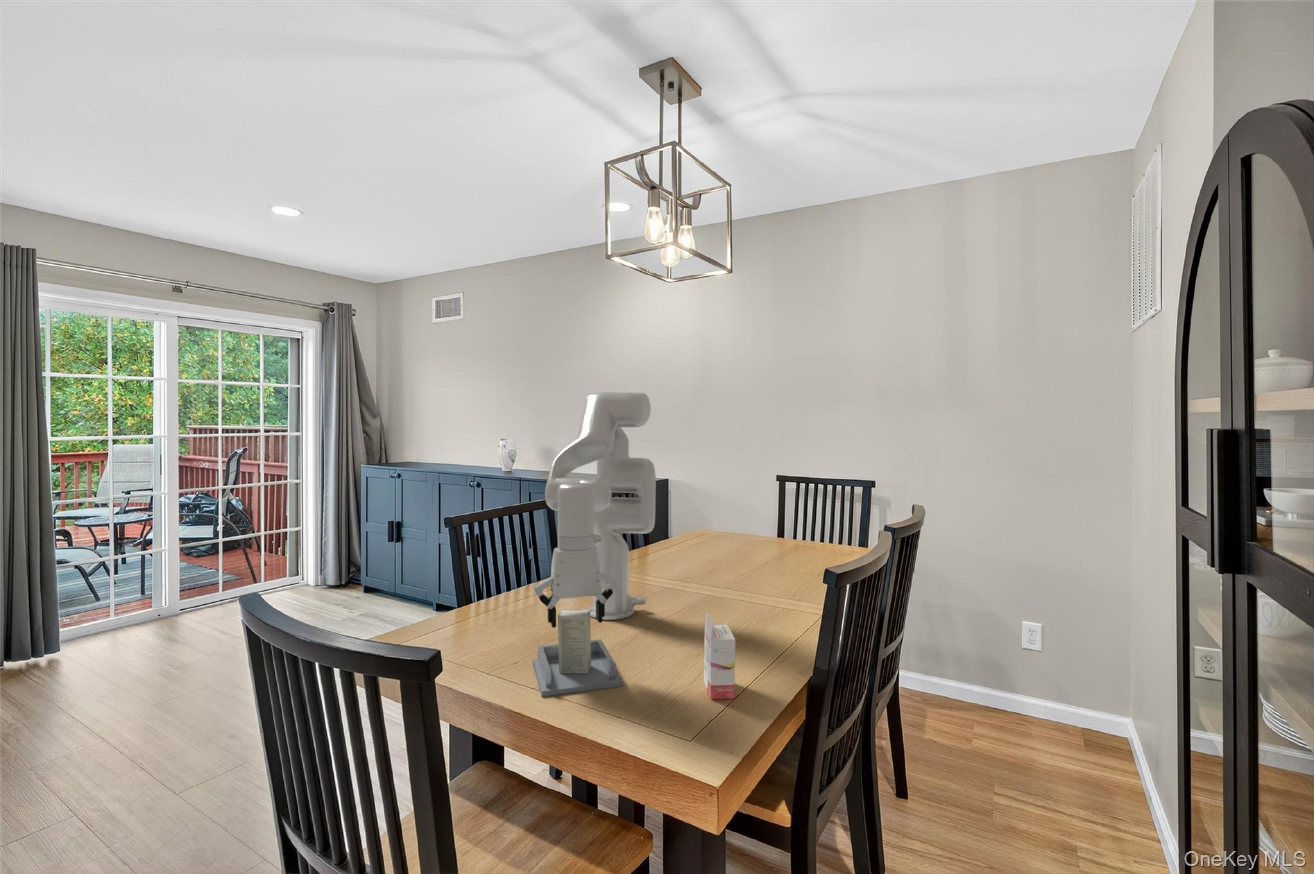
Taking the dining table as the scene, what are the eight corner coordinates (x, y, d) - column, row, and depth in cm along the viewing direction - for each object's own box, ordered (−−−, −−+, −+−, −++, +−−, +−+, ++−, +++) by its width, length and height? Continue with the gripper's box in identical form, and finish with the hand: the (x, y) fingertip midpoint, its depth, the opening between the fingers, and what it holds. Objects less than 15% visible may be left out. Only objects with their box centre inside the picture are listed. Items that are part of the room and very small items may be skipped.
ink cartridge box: (735, 699, 117) (736, 624, 117) (710, 700, 117) (711, 624, 116) (727, 680, 126) (727, 609, 125) (703, 680, 125) (703, 609, 125)
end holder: (604, 655, 138) (604, 638, 138) (622, 686, 122) (622, 666, 122) (532, 663, 133) (532, 645, 133) (541, 696, 118) (541, 676, 117)
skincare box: (591, 665, 130) (591, 609, 129) (587, 674, 125) (587, 616, 125) (562, 664, 130) (562, 608, 130) (557, 673, 126) (557, 615, 125)
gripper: (612, 535, 133) (612, 612, 134) (531, 540, 128) (532, 621, 129) (621, 543, 126) (621, 625, 127) (535, 549, 120) (536, 634, 122)
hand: (576, 622), depth 128 cm, fingers open, 9 cm apart
